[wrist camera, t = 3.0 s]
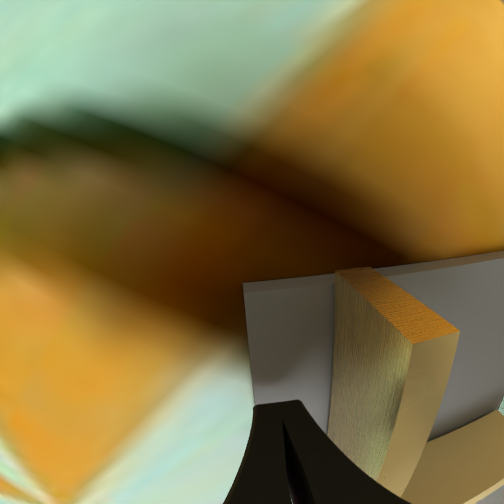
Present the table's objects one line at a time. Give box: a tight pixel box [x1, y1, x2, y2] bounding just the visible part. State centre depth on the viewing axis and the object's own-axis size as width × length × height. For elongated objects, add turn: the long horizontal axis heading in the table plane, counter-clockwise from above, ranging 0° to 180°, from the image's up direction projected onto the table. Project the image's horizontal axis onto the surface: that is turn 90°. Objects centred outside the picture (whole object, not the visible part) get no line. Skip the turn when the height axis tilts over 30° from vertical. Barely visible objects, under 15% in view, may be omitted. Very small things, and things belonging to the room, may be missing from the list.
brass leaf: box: [327, 267, 460, 498], centre depth 8 cm, size 9×1×5 cm, turn 4°
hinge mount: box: [243, 250, 504, 504], centre depth 9 cm, size 15×12×6 cm
